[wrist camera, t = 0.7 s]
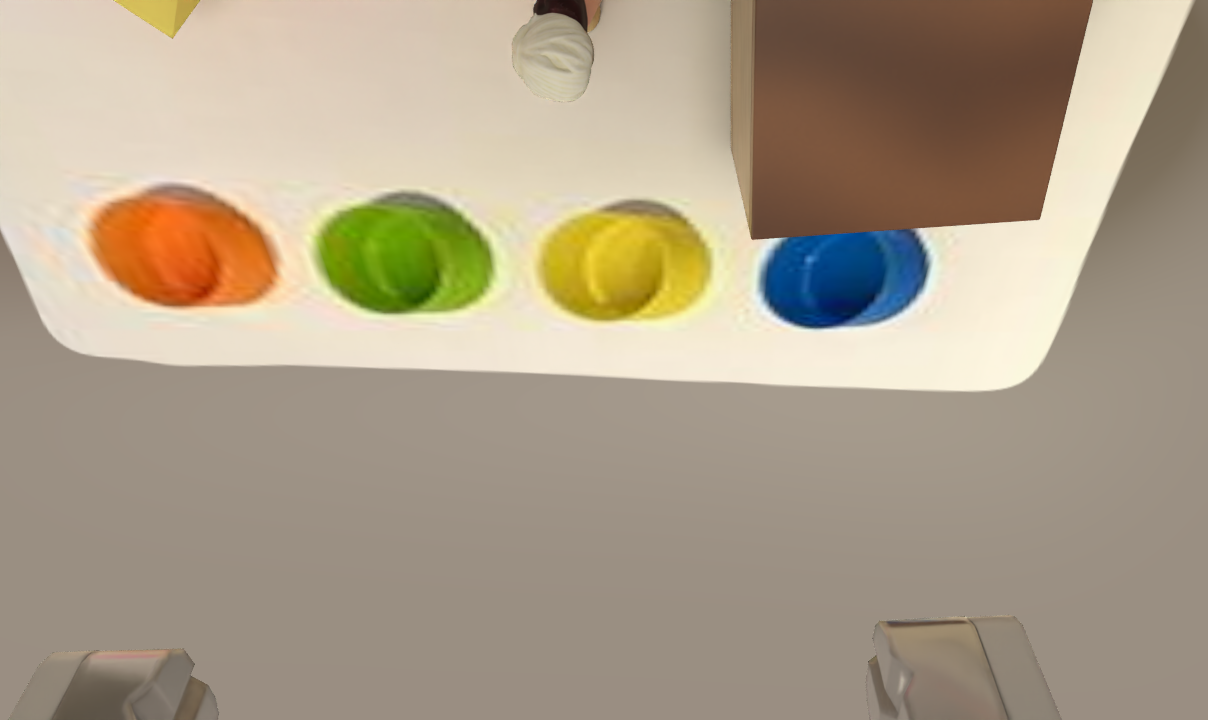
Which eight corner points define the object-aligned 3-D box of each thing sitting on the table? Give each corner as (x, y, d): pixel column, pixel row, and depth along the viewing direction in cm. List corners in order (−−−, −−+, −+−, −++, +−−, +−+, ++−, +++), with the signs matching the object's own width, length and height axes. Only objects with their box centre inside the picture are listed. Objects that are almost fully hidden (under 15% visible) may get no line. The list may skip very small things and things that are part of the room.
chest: (730, -178, 41) (754, -138, 34) (1035, -207, 40) (1124, -173, 33) (730, 148, 51) (749, 231, 44) (975, 129, 50) (1033, 211, 43)
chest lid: (755, -165, 33) (774, -138, 29) (1132, -202, 32) (1202, -178, 28) (749, 231, 44) (762, 290, 40) (1034, 211, 43) (1076, 270, 39)
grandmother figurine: (625, 42, 47) (628, 152, 37) (553, 58, 47) (537, 172, 38) (589, -119, 42) (581, -42, 32) (510, -98, 43) (478, -17, 33)
